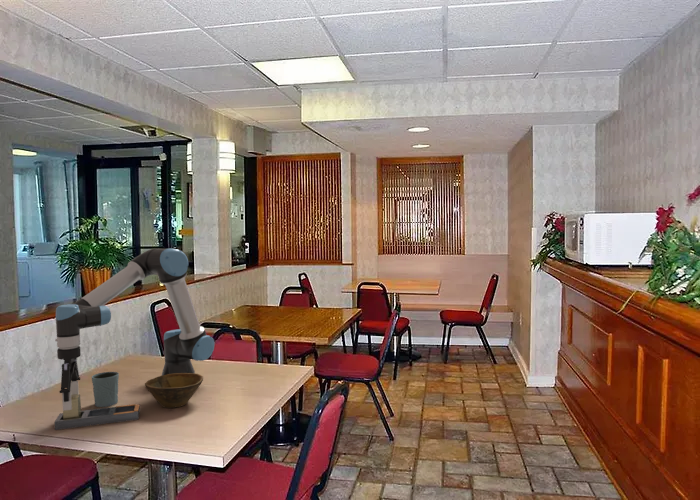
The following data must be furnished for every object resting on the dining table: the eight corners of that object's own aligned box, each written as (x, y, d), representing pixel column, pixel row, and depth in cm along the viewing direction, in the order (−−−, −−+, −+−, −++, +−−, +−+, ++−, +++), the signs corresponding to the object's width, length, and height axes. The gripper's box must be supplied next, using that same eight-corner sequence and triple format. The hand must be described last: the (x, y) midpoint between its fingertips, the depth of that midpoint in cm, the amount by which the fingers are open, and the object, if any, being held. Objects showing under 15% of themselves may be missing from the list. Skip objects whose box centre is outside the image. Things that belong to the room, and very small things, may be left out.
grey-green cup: (93, 409, 212) (91, 379, 211) (92, 402, 221) (91, 373, 220) (120, 404, 216) (119, 375, 216) (119, 397, 225) (117, 369, 225)
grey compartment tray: (140, 411, 208) (139, 403, 208) (138, 419, 199) (137, 411, 199) (60, 421, 200) (59, 412, 199) (54, 429, 191) (54, 421, 191)
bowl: (186, 391, 232) (185, 368, 231) (213, 403, 216) (212, 379, 215) (136, 404, 217) (135, 380, 216) (162, 418, 200) (160, 392, 200)
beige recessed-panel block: (81, 420, 200) (80, 393, 199) (78, 425, 195) (77, 397, 195) (66, 422, 198) (65, 394, 198) (63, 427, 194) (62, 399, 193)
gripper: (64, 340, 206) (66, 394, 207) (49, 355, 182) (51, 416, 183) (85, 339, 208) (88, 392, 209) (73, 353, 184) (75, 413, 185)
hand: (71, 404), depth 196 cm, fingers open, 13 cm apart
